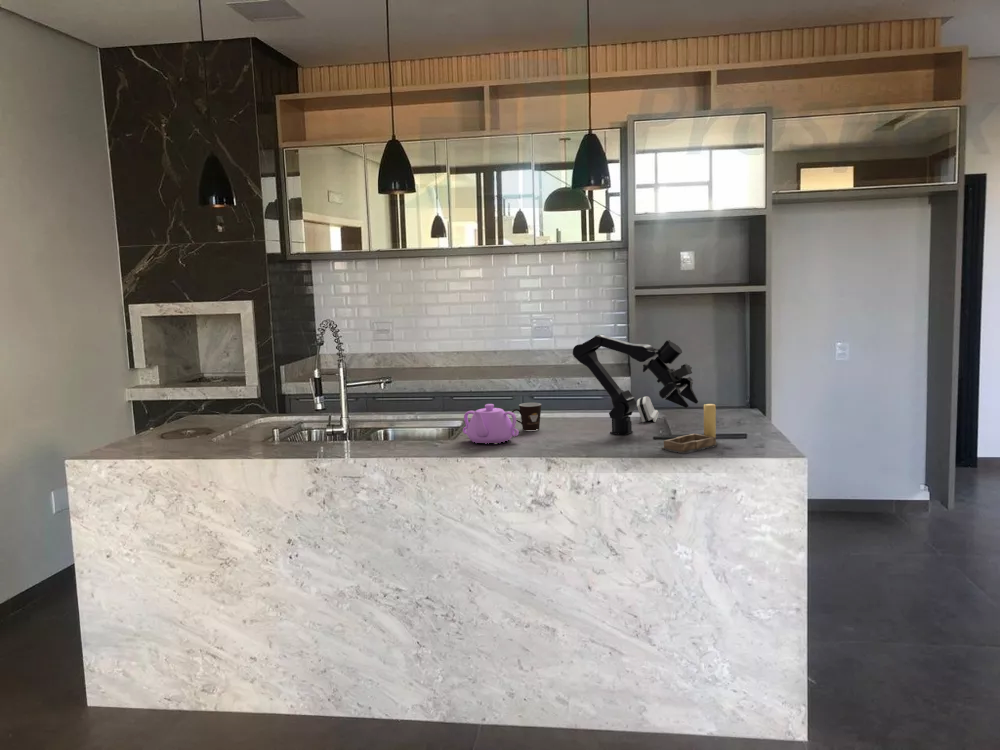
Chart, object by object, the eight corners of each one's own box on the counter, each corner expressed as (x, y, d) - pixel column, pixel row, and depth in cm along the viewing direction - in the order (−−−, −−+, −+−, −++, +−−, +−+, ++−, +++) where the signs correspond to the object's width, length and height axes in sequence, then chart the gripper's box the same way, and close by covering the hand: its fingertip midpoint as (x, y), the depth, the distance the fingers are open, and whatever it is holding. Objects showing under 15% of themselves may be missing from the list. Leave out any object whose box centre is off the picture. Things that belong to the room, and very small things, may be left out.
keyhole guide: (683, 453, 256) (683, 444, 255) (661, 448, 264) (661, 440, 263) (716, 446, 265) (716, 437, 264) (694, 441, 273) (694, 433, 272)
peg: (701, 442, 272) (701, 405, 270) (706, 439, 275) (706, 403, 273) (712, 443, 269) (712, 406, 267) (717, 441, 272) (717, 404, 270)
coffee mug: (542, 427, 307) (541, 402, 306) (541, 431, 299) (540, 406, 297) (513, 427, 308) (512, 403, 307) (511, 432, 300) (510, 406, 299)
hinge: (655, 422, 309) (646, 398, 308) (643, 426, 310) (635, 402, 310) (659, 414, 324) (650, 392, 324) (648, 418, 326) (640, 395, 326)
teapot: (448, 448, 277) (447, 410, 276) (471, 435, 298) (470, 399, 296) (506, 450, 270) (505, 411, 268) (526, 437, 290) (525, 401, 288)
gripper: (667, 360, 267) (698, 393, 262) (687, 354, 282) (717, 385, 277) (646, 382, 272) (676, 415, 268) (667, 375, 288) (696, 406, 283)
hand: (692, 404), depth 274 cm, fingers open, 9 cm apart
